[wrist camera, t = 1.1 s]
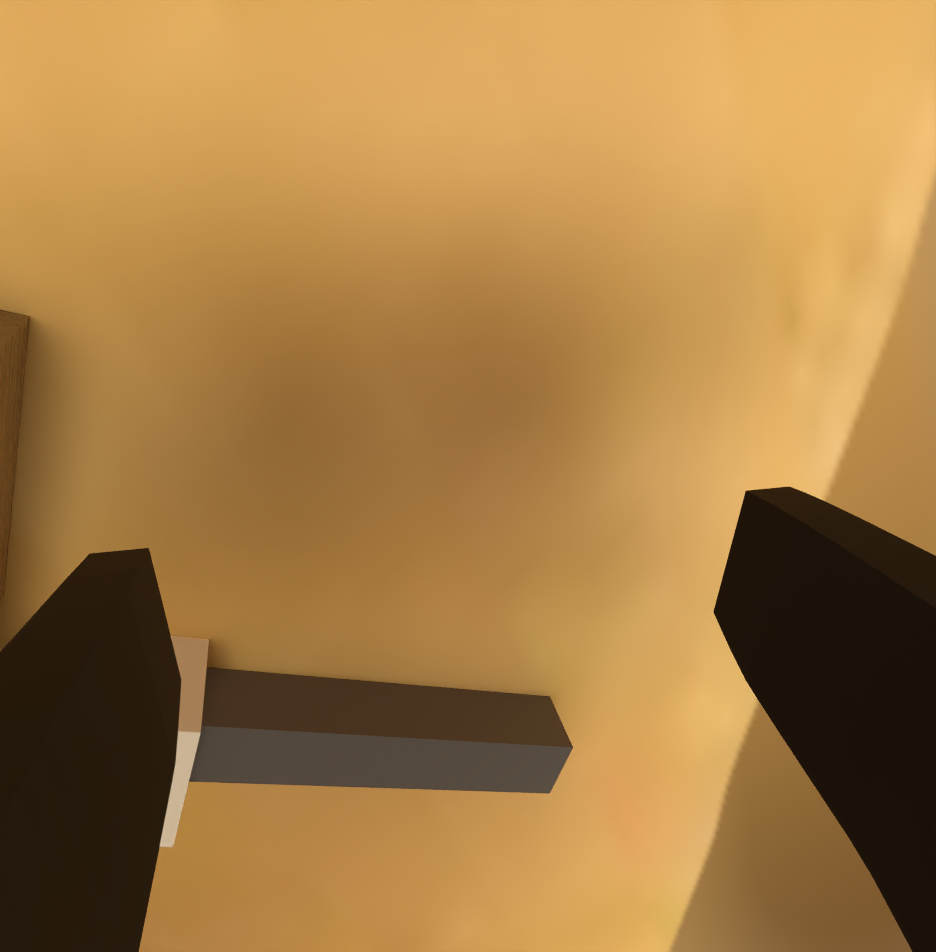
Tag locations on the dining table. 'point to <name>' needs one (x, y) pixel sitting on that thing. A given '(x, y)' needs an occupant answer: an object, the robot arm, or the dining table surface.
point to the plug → (355, 734)
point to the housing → (9, 417)
